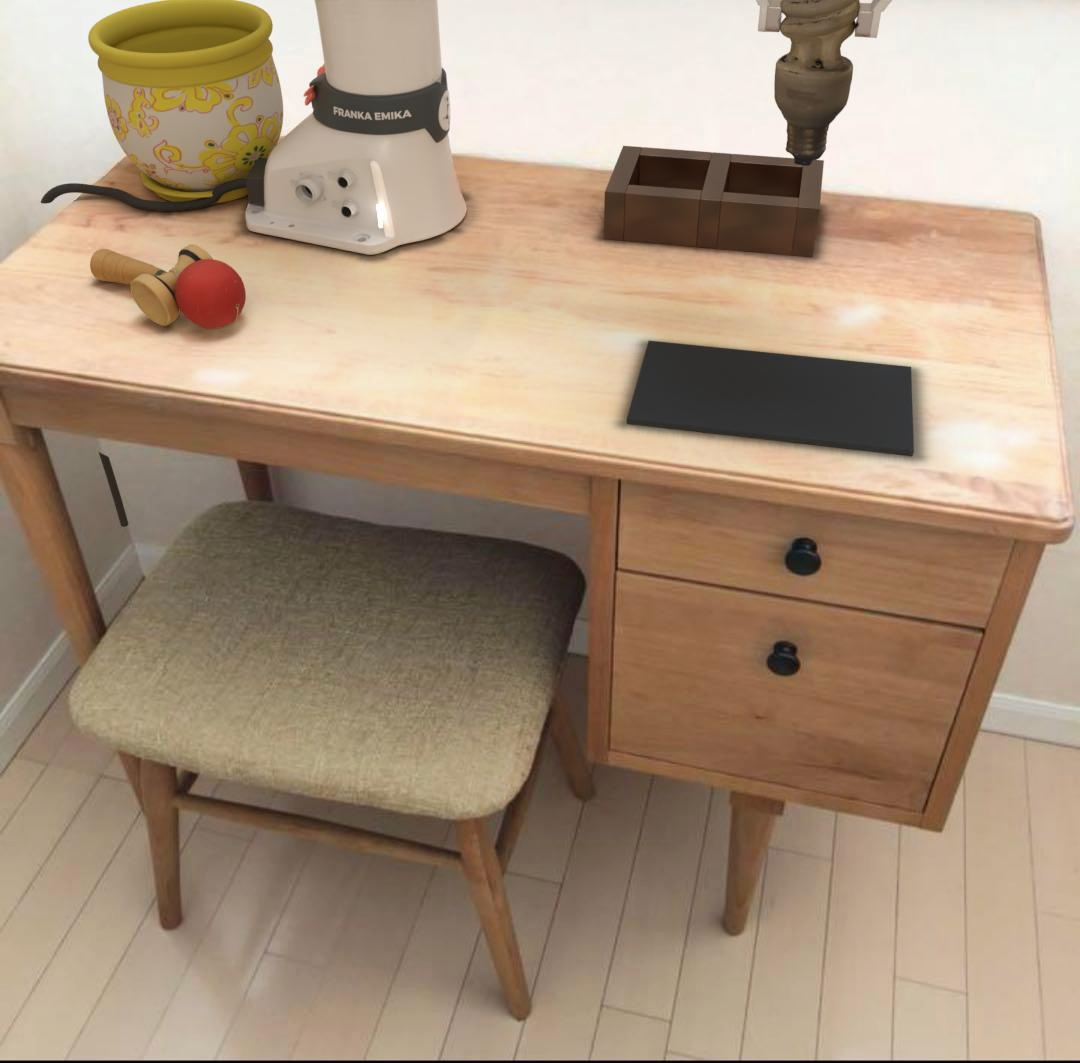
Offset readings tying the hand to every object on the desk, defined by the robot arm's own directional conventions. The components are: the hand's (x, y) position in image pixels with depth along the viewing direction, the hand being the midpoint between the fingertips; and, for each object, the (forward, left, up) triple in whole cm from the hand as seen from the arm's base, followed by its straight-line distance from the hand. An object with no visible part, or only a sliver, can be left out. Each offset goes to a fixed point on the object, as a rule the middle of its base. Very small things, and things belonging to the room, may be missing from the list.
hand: (816, 32), depth 82 cm
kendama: (-55, +2, -28) cm, 62 cm away
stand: (-8, +28, -28) cm, 41 cm away
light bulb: (0, 0, -9) cm, 9 cm away
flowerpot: (-62, +29, -28) cm, 74 cm away
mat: (0, -2, -28) cm, 28 cm away
